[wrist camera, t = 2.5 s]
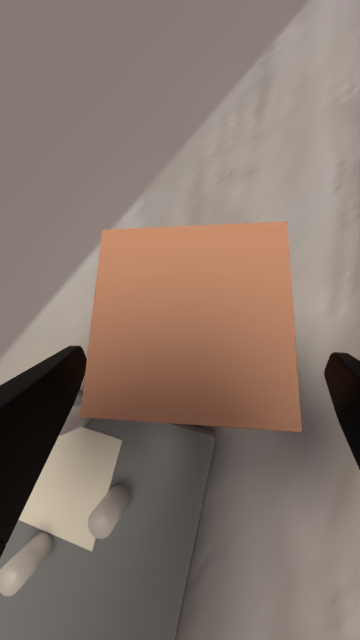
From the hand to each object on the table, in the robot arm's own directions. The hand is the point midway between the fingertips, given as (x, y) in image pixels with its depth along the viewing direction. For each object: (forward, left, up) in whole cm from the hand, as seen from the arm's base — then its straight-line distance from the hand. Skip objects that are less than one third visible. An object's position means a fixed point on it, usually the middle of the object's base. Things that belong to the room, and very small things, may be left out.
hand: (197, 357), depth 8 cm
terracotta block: (+1, 0, -8) cm, 9 cm away
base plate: (-15, +5, -8) cm, 18 cm away
